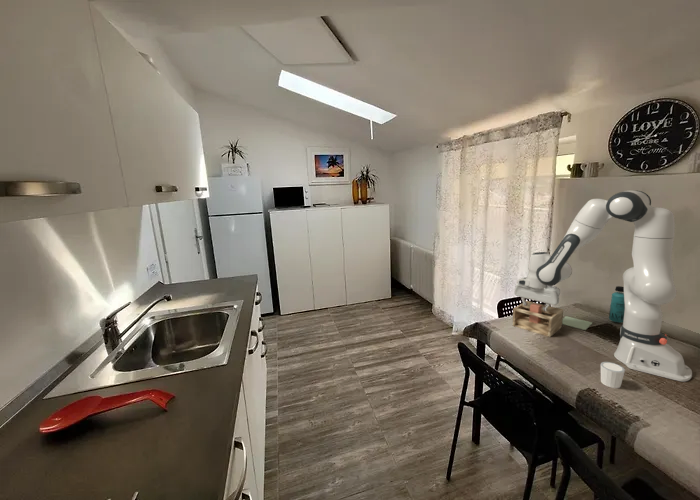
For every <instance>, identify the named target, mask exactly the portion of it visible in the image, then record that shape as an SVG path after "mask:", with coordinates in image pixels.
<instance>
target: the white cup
mask: <svg viewBox="0 0 700 500" xmlns="http://www.w3.org/2000/svg"><path fill="white" fill-rule="evenodd" d="M625 371H626V369H625V368H624V367H623V366H622V365H620V364H617V363H614V362H611V361H602V362H601V363H600V382H601V384H603V385H605V386H606V387H608V388H612V389H620V388H621V387H622V382H623V379H624V375H625V373H626V372H625Z"/></svg>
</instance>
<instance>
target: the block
mask: <svg viewBox="0 0 700 500" xmlns="http://www.w3.org/2000/svg"><path fill="white" fill-rule="evenodd" d="M535 303H536V302H534V303H533V304H531V305H530V312H534V313H538V314H541V309H542V305H543V304H542V305H539V304H540V303H538V304H535ZM529 321H530V322H534V323H537V324H538V323H539V322H540V321H541V318H540V317H537V316H533V315H530V316H529Z"/></svg>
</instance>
